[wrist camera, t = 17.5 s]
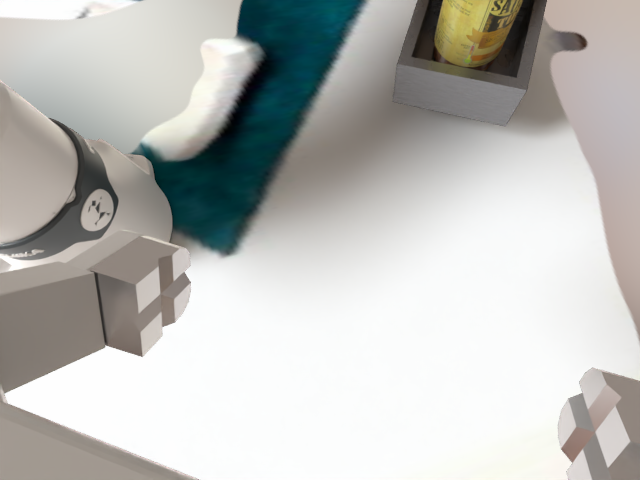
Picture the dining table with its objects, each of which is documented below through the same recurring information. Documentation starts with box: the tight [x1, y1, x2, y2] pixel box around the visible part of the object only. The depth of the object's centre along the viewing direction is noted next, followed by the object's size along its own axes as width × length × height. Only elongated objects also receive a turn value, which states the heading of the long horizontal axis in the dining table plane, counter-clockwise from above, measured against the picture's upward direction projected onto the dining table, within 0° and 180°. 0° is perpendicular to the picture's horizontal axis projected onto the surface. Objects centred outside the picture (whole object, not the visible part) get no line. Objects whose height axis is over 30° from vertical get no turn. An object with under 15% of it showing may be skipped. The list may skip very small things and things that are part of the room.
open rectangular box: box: [393, 0, 547, 126], centre depth 40 cm, size 11×12×6 cm
